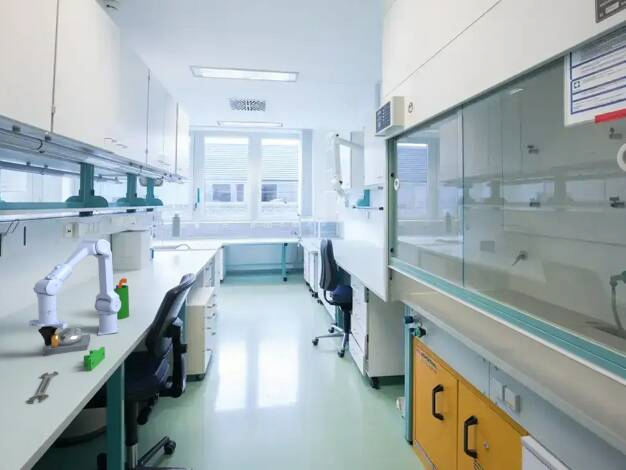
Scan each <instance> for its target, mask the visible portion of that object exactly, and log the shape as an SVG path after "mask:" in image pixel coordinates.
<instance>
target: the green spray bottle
mask: <svg viewBox="0 0 626 470" xmlns="http://www.w3.org/2000/svg"><path fill="white" fill-rule="evenodd" d="M127 283H128V278H124V277H123V278H121V279H120V280H119V281H118V284H116V285H115V288H114V292H115V293H117V294H118V295H119V299H120V301H121V308H120V310H119V311H118V312H117V320H123V319H125V318H128V317H129V316H130V301H129V299H130V297H129V285H125V284H127Z"/></svg>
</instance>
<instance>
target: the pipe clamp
mask: <svg viewBox="0 0 626 470" xmlns="http://www.w3.org/2000/svg"><path fill="white" fill-rule="evenodd" d="M105 358H106V346H101V347H100V348H99V349H91V350H89V354H86V355H85V354H84V355H83V368H84V369H86V368H87V372H92V371H93V370H94V369H95V368H96V367H97V366H98V365H99V364H100V363H101V362H102V361H103V360H105Z"/></svg>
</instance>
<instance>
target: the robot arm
mask: <svg viewBox="0 0 626 470" xmlns="http://www.w3.org/2000/svg"><path fill="white" fill-rule="evenodd" d="M89 256H93V257H95V258H96V259H97V263H98V265H97V266H98V281H99V284H98V285H99V293H97V295H96V296H95V302H94V309H95V310H96V311H97V313H98V324H99V325H98V326H99V328H98V333H97V335H98V336H100V335H101V336H102V335H109V334H116V333H117V334H118V333H119V327H120V326H119V325H118V319H117V312H118V311H119V310H120V308H121V301H120V299H119V295H118V294H117V293H115V292H114V289H115V288H114V287H115V286H114V274H113V273H114V270H113V269H114V267H113V265H114V264H113V253H112V251H111V243H110V241H108V240H106V239H104V238H87V237H86V238H83V239H82V240H81V241H80V242H79V243H78V246H77V248H76V249H75V250H74V252H73V253H72V254H71V255H70V256H69V257H68V258H67V260H66V261H65V262H63V263H59V264H56V265H55V266H54V268H53V269H52V270H51V271H50V272H49V273H48V274H46V275H45V277H44V278H42V279H40V280H38V281H37V282H35V285H34V287H33V288H32V289H33V292H34V293H35V294H36V297H37V302H38V303H37V304H38V305H37V306H38V312H37V313H38V319H31V320H29V321H28V322H29V327H34V326H35V327H37V328H38V330H37V331H38V332H39V334H40V335H41V337H42V339H43V341H44V346H45V347H46V346H49V345H51V335H52V334H55V332H57V331H58V329H61V330H62V329H63V330H65V329H66V328H68V322H67V321H64V320H60V319H58V295H57V294H58V293H59V292H60V291H61V288H62V285H63V283H64V282H65V281H66V280H67V279H68V278H69V277H70V276H71V275H72V273H73V268H74V267H75V266H77V265H78V264H79V263H80V262H81V261H82V260H83V259H84V258H85V257H89Z"/></svg>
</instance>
